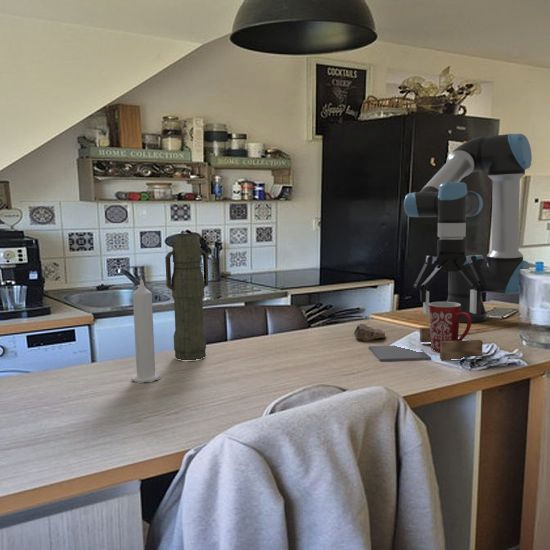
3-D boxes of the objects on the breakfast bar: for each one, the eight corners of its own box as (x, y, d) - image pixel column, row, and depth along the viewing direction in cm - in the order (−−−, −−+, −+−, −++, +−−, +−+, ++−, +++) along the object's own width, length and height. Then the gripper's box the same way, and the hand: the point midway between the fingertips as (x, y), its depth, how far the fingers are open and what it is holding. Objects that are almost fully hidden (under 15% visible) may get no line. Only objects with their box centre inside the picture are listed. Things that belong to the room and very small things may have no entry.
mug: (421, 349, 161) (421, 303, 159) (439, 344, 166) (440, 300, 165) (459, 358, 151) (460, 309, 149) (477, 352, 157) (479, 305, 155)
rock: (357, 343, 171) (389, 336, 171) (353, 324, 172) (384, 317, 172) (354, 343, 180) (385, 337, 180) (350, 325, 181) (380, 319, 180)
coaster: (415, 346, 164) (415, 344, 164) (430, 359, 150) (431, 357, 150) (368, 348, 164) (368, 346, 164) (380, 361, 150) (380, 359, 150)
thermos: (164, 357, 157) (159, 234, 153) (202, 351, 164) (197, 232, 160) (177, 364, 150) (172, 235, 146) (216, 357, 157) (212, 233, 152)
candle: (130, 376, 140) (125, 278, 137) (158, 373, 142) (153, 276, 139) (133, 384, 133) (128, 282, 130) (163, 381, 136) (158, 280, 133)
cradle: (455, 342, 169) (455, 326, 168) (482, 359, 150) (482, 341, 149) (419, 343, 168) (420, 327, 167) (442, 360, 149) (442, 342, 148)
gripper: (489, 237, 159) (486, 310, 162) (403, 238, 158) (402, 311, 160) (501, 238, 152) (498, 314, 154) (411, 239, 151) (410, 316, 153)
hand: (449, 313), depth 157 cm, fingers open, 13 cm apart
